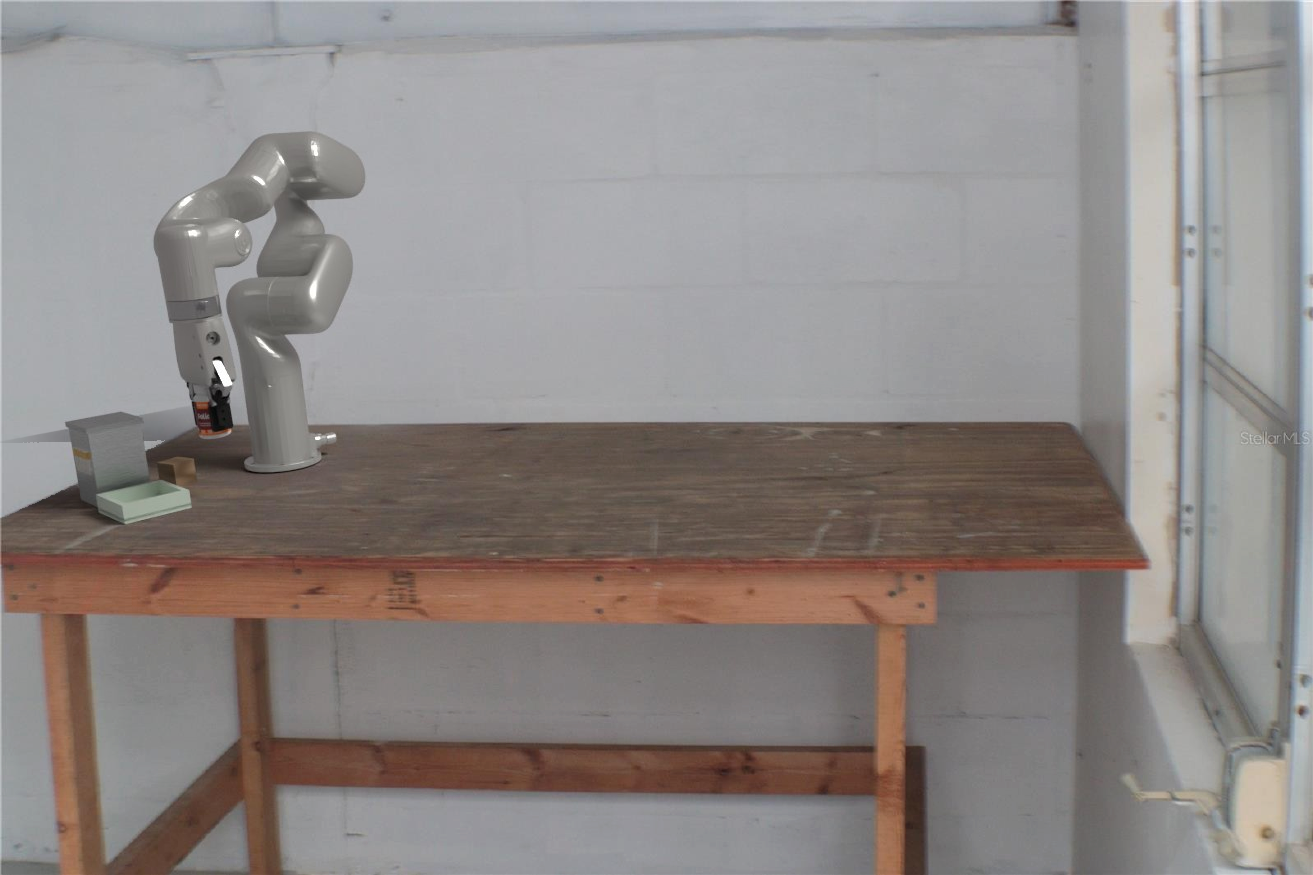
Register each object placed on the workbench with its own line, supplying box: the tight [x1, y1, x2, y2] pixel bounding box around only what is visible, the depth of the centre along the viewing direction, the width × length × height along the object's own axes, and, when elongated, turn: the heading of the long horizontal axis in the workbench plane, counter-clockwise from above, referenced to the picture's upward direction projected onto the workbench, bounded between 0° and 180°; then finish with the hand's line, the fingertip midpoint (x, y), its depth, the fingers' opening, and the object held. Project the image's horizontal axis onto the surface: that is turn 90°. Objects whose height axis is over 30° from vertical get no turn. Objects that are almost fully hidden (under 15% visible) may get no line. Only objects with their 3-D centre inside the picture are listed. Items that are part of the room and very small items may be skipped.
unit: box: [64, 411, 151, 508], centre depth 189 cm, size 9×9×13 cm
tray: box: [96, 479, 193, 525], centre depth 183 cm, size 10×10×3 cm
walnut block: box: [156, 456, 198, 488], centre depth 197 cm, size 4×4×4 cm
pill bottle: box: [193, 380, 232, 440], centre depth 185 cm, size 5×5×8 cm
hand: (214, 425), depth 185 cm, fingers closed on pill bottle, 4 cm apart
